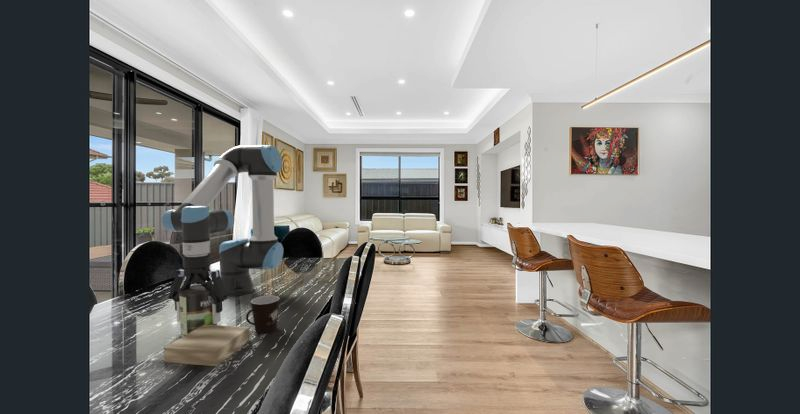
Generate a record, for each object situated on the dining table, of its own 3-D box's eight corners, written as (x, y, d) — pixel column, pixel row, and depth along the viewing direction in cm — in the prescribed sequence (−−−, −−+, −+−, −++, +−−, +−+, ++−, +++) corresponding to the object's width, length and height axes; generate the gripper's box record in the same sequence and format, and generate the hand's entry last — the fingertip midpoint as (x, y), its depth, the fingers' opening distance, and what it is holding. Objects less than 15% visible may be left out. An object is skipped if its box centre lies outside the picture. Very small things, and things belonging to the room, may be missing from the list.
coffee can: (224, 326, 111) (223, 284, 110) (200, 340, 101) (199, 294, 100) (198, 323, 113) (197, 283, 112) (172, 337, 103) (170, 292, 102)
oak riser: (204, 337, 103) (204, 324, 103) (249, 339, 101) (249, 327, 101) (164, 362, 88) (163, 347, 88) (216, 366, 86) (216, 351, 86)
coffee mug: (273, 322, 114) (272, 293, 114) (284, 329, 108) (284, 299, 108) (237, 332, 106) (237, 301, 106) (247, 341, 100) (247, 308, 100)
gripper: (152, 255, 103) (155, 324, 104) (224, 258, 100) (226, 328, 101) (172, 251, 111) (174, 315, 112) (239, 253, 108) (240, 318, 109)
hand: (199, 321), depth 107 cm, fingers open, 12 cm apart
